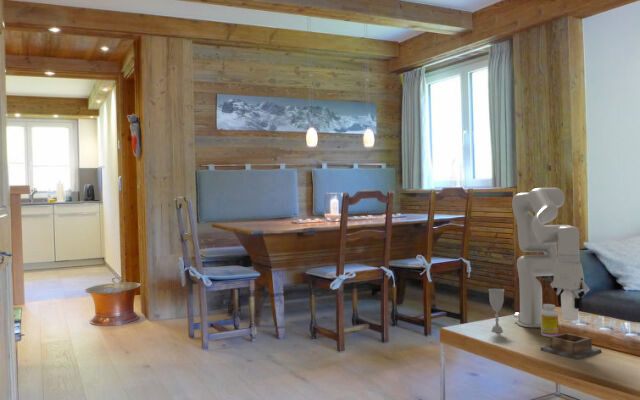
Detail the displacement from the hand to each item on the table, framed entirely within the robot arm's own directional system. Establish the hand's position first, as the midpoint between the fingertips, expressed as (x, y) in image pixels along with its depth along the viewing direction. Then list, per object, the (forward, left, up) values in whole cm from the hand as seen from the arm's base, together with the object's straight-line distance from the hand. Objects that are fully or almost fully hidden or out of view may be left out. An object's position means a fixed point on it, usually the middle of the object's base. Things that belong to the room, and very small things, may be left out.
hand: (569, 306), depth 203 cm
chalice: (-36, +3, -17) cm, 40 cm away
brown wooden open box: (0, 0, -17) cm, 17 cm away
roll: (0, 0, -5) cm, 5 cm away
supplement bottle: (-18, +14, -17) cm, 28 cm away
